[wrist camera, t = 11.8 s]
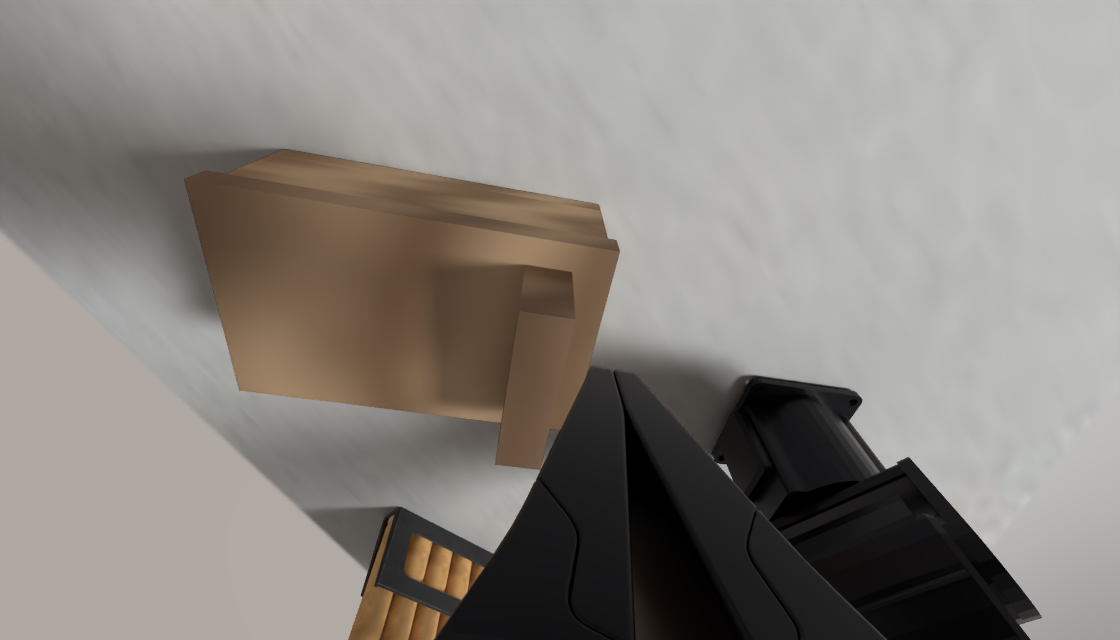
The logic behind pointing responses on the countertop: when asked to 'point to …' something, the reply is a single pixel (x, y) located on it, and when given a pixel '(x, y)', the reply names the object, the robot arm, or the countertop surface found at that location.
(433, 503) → the countertop surface
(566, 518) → the robot arm
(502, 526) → the countertop surface
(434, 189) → the light brown wooden box
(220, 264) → the lid
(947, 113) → the countertop surface
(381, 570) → the ammunition clip
